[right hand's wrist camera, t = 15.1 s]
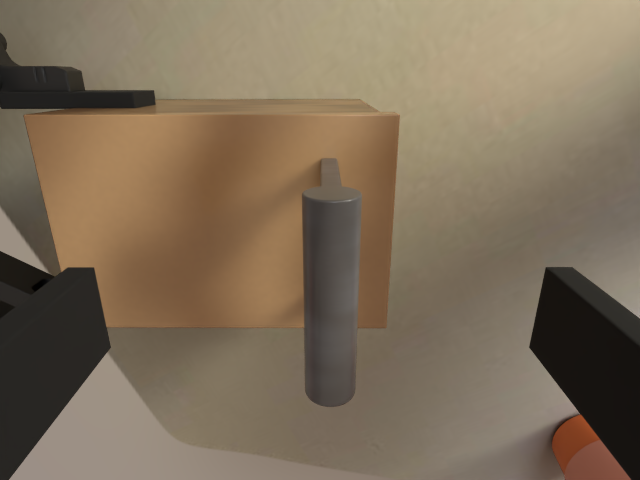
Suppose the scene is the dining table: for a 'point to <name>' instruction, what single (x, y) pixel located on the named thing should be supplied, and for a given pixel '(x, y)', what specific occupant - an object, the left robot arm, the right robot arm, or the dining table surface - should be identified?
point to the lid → (230, 222)
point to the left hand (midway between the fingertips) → (159, 200)
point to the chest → (238, 106)
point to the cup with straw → (584, 453)
